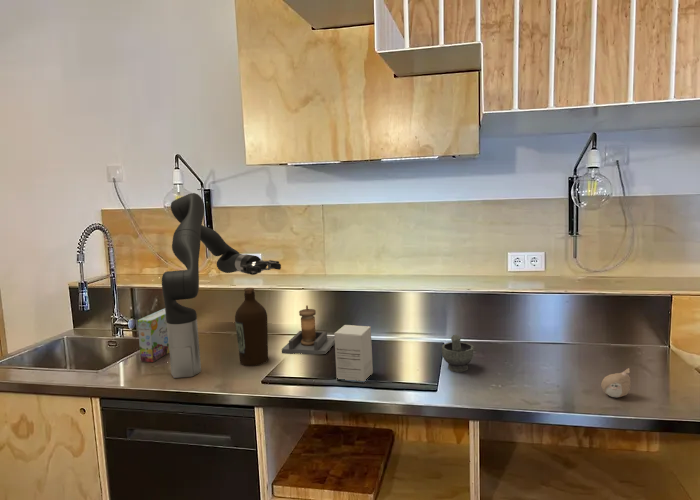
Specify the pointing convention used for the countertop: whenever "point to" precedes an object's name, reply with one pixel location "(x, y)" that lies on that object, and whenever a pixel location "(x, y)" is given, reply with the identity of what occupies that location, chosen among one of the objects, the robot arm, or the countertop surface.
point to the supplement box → (353, 352)
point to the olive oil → (251, 330)
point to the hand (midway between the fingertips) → (270, 268)
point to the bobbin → (308, 326)
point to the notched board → (319, 347)
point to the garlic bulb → (617, 384)
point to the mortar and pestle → (457, 354)
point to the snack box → (153, 336)
